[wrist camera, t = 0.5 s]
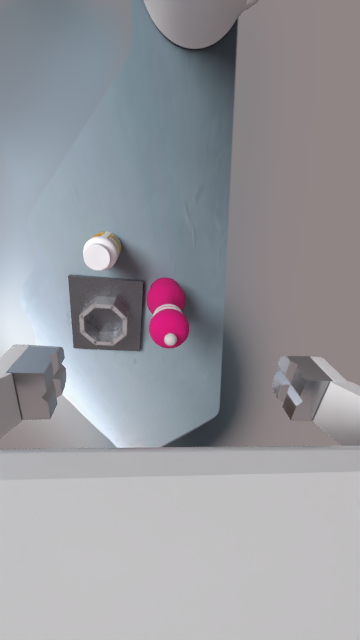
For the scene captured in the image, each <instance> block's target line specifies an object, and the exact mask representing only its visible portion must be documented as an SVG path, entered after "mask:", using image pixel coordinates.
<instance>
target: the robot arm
mask: <svg viewBox="0 0 360 640" xmlns="http://www.w3.org/2000/svg"><path fill="white" fill-rule="evenodd" d="M257 1H258V0H144V3H145V5H146V8H147V10H148V12H149V14H150V16H151V18H152V20H153V22H154V23H155V25H156V26H157V28H158V29H159V30H160V31H161V32H162V33H163V34H164V35H165V36H166V37H167V38H168V39H169V40H171V41H172V42H174V43H175V44H177V45H179V46H182V47H185V48H190V49H199V48H204V47H208V46H210V45H212V44H214V43H216V42H217V41H219V40H220V39H221V38H222V37H223V36H224V35H225V34H226V33H227V32H228V31H229V30H230V29H231V27H232V26H233V24H234V23H235V21H236V20H237V18H238V17H239V15H240V14H241V13H242V12H243V11H245V10H246V9H248V8H249V7H251V6H252V5H254V4H255V3H256V2H257ZM64 358H65V357H64V350H63V348H62V347H53V346H36V345H13V346H12V347H11V348H10V349H9V350H8V351H7V352H6V353H5V354H4V356H3V357H2V358H1V359H0V438H1V437H2V436H4V435H5V434H6V433H8V432H9V431H10V430H11V429H13V428H14V427H15V426H16V425H18V424H19V423H20V422H21V421H22V420H28V419H29V420H33V419H50V418H51V416H52V414H53V412H54V410H55V408H56V405H57V397H59V396H60V395H62V392H63V390H64V387H65V382H66V368H65V367H64V366H63V365H62V364H61V363H62V362H63V360H64ZM278 367H279V369H280V370H279V371H278V372H277V373H275V375H274V378H273V390H274V393H275V395H276V397H277V398H278V399H279V400H281V401H282V402H284V403H283V408H284V410H285V412H286V413H287V415H288V417H289V418H290V420H296V421H313V423H314V424H316V425H317V426H318V427H319V428H321V429H322V430H323V431H324V432H325V433H327V434H328V435H329V436H330V437H332V438H333V439H334V440H336V441H337V442H338V443H339V444H340V445H342V446H263V447H262V446H259V447H168V448H167V447H163V448H53V449H0V640H360V386H359V385H357V384H355V383H353V382H347V381H346V380H345V379H344V378H343V377H342V376H341V375H340V374H339V373H338V372H337V371H336V370H335V369H334V368H333V367H332V366H330V364H328V363H327V362H326V361H325V360H324V359H323V358H321V357H319V356H282V357H281V358H280V359H279V362H278Z"/></svg>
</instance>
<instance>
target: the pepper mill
mask: <svg viewBox="0 0 360 640" xmlns="http://www.w3.org/2000/svg"><path fill="white" fill-rule="evenodd" d="M147 305H148V308H149V310H150V311H151V313H152V314H153V318H152V319H151V321H150V325H149V331H150V335H151V338H152V339H153V341H154V342H155V343H156V344H158V345H159V346H161V347H164V348H175V347H177V346H179V345H181V344H182V343H183V342H184V341H185V340H186V338H187V337H188V333H189V323H188V320H187V318H186V317H185V316H184V314H183V313H182V310H183V308H184V305H185V297H184V293H183V291H182V289H181V288H180V287H179V285H178V284H177V283H176V282H175V281H174V280H172V279H170V278H160V279H158V280H156V281H155V282H154V283H153V284H152V285H151V288H150V290H149V292H148V295H147Z"/></svg>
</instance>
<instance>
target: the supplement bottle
mask: <svg viewBox="0 0 360 640" xmlns="http://www.w3.org/2000/svg"><path fill="white" fill-rule="evenodd" d="M120 252H121V243H120V240H119V239H118V237H117V236H116V235H114V234H113V233H111V232H107V231H103V232H100V233H97V234H96V235H95V236H93V237H92V238H91V239H89V240H88V241H87V242H86V244H85V246H84V249H83V254H84V261H85V263H86V264H87V266H88V267H90V268H91V269H93V270H98V271H99V270H107V269H109V268H111V267H112V266H113V265H114V264H115V262H116V261H117V259H118V257H119V255H120Z"/></svg>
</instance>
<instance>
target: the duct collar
mask: <svg viewBox="0 0 360 640" xmlns="http://www.w3.org/2000/svg"><path fill="white" fill-rule="evenodd" d="M68 279H69V292H70V305H71V318H72V331H73V344H74V348H82V349H106V350H129V351H140V335H141V316H142V297H143V280H133V279H120V278H107V277H95V276H82V275H69V276H68Z"/></svg>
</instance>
